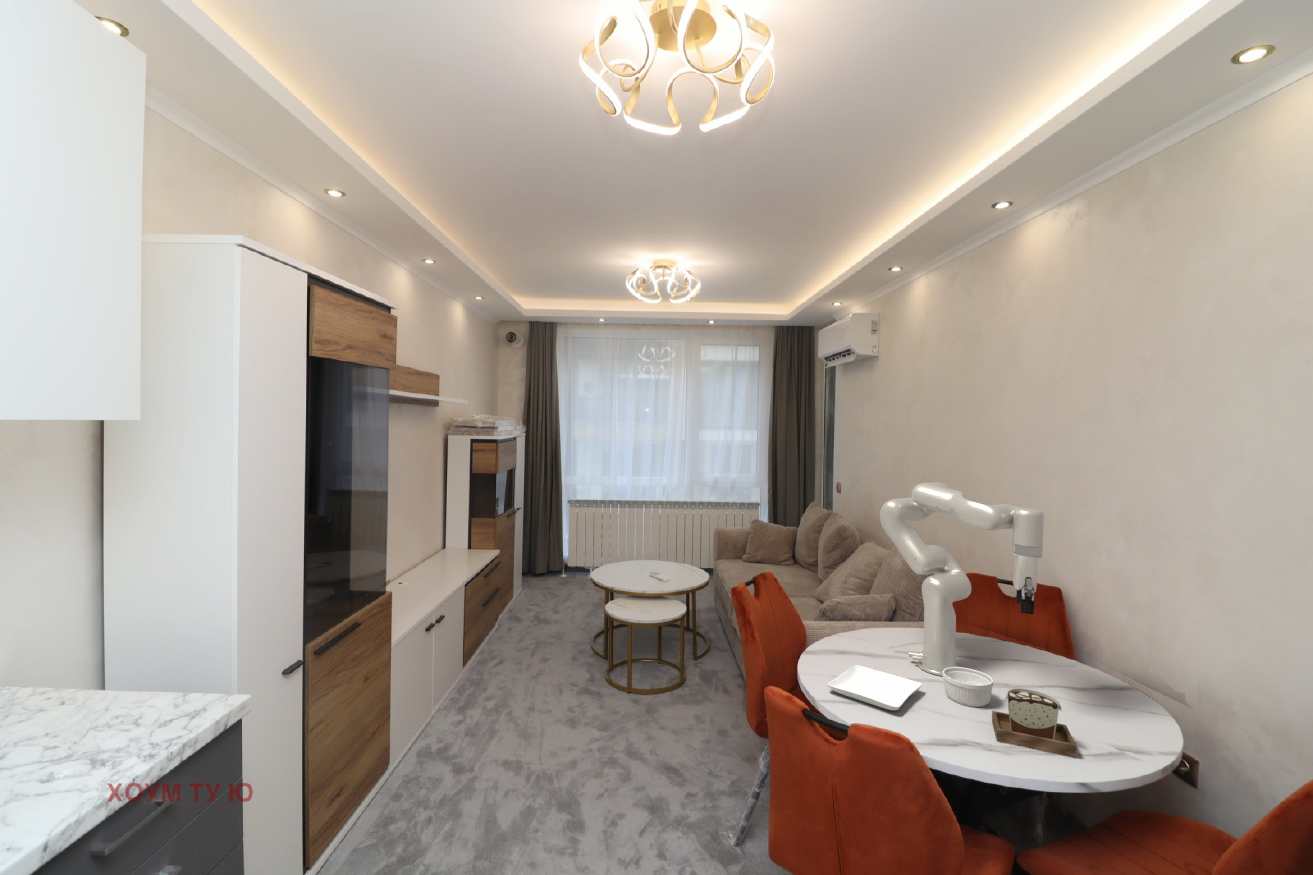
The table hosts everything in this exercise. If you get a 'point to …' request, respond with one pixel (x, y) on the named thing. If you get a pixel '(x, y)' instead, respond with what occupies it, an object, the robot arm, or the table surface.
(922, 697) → the table surface
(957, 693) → the ramekin
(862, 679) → the salad plate
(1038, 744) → the tray
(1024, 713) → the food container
